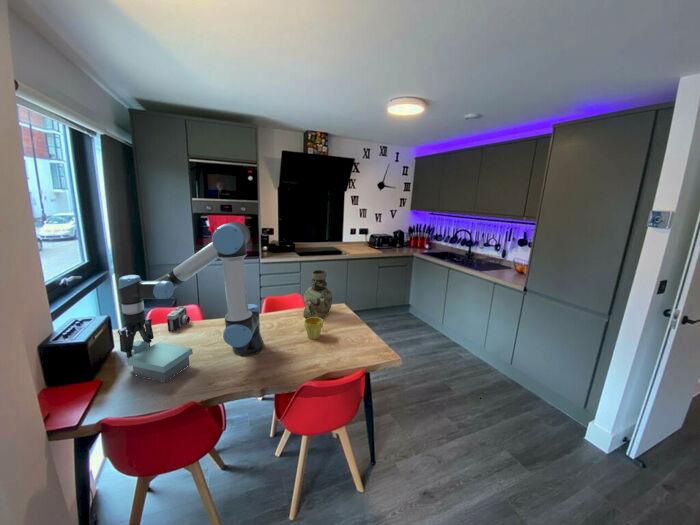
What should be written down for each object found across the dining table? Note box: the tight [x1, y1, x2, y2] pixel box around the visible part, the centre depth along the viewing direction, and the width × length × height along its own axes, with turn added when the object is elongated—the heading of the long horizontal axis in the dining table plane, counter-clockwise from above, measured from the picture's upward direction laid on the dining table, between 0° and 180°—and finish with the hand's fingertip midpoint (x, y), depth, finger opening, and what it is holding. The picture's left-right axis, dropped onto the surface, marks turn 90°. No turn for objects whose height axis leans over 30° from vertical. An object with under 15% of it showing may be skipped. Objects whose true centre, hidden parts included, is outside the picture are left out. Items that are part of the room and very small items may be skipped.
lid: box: [126, 340, 193, 373], centre depth 124 cm, size 23×15×6 cm, turn 76°
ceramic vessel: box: [302, 269, 333, 320], centre depth 185 cm, size 19×21×30 cm
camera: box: [166, 305, 191, 332], centre depth 166 cm, size 14×8×10 cm, turn 5°
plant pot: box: [303, 317, 324, 340], centre depth 160 cm, size 10×10×10 cm
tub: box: [132, 356, 191, 383], centre depth 124 cm, size 16×13×7 cm
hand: (140, 359), depth 127 cm, fingers open, 6 cm apart
